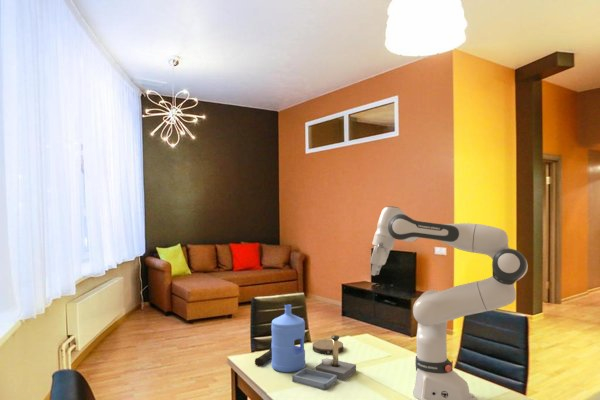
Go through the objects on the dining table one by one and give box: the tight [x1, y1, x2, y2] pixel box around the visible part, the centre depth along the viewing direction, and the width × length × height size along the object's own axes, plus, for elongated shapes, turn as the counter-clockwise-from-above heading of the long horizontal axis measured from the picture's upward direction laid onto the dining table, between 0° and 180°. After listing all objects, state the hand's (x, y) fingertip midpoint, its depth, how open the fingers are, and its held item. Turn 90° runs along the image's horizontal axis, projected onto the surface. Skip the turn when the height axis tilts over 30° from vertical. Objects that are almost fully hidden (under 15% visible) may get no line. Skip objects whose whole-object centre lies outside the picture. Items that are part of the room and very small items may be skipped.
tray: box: [291, 367, 338, 391], centre depth 168 cm, size 16×10×2 cm, turn 57°
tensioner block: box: [314, 357, 357, 381], centre depth 177 cm, size 14×12×4 cm
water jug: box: [270, 304, 306, 373], centre depth 185 cm, size 16×16×28 cm
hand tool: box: [254, 347, 272, 367], centre depth 194 cm, size 19×4×5 cm, turn 154°
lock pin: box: [331, 334, 340, 368], centre depth 177 cm, size 3×3×16 cm
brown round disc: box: [312, 338, 344, 356], centre depth 208 cm, size 16×16×3 cm
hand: (374, 274), depth 170 cm, fingers open, 8 cm apart
